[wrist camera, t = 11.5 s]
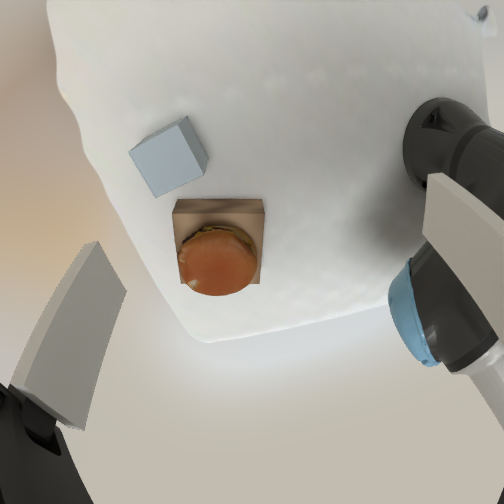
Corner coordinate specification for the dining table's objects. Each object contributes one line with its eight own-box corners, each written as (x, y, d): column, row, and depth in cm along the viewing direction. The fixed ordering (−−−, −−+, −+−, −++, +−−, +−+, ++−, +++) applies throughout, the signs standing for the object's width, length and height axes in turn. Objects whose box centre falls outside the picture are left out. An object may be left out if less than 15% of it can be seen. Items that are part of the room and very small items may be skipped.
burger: (271, 248, 37) (275, 271, 33) (225, 289, 41) (225, 314, 37) (209, 203, 33) (205, 224, 29) (166, 254, 36) (159, 277, 33)
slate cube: (186, 115, 30) (177, 124, 25) (208, 158, 33) (203, 175, 28) (144, 138, 31) (128, 152, 26) (166, 178, 34) (155, 198, 30)
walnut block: (261, 197, 37) (264, 213, 34) (257, 263, 44) (259, 283, 40) (178, 197, 37) (171, 213, 33) (184, 263, 43) (181, 283, 39)
